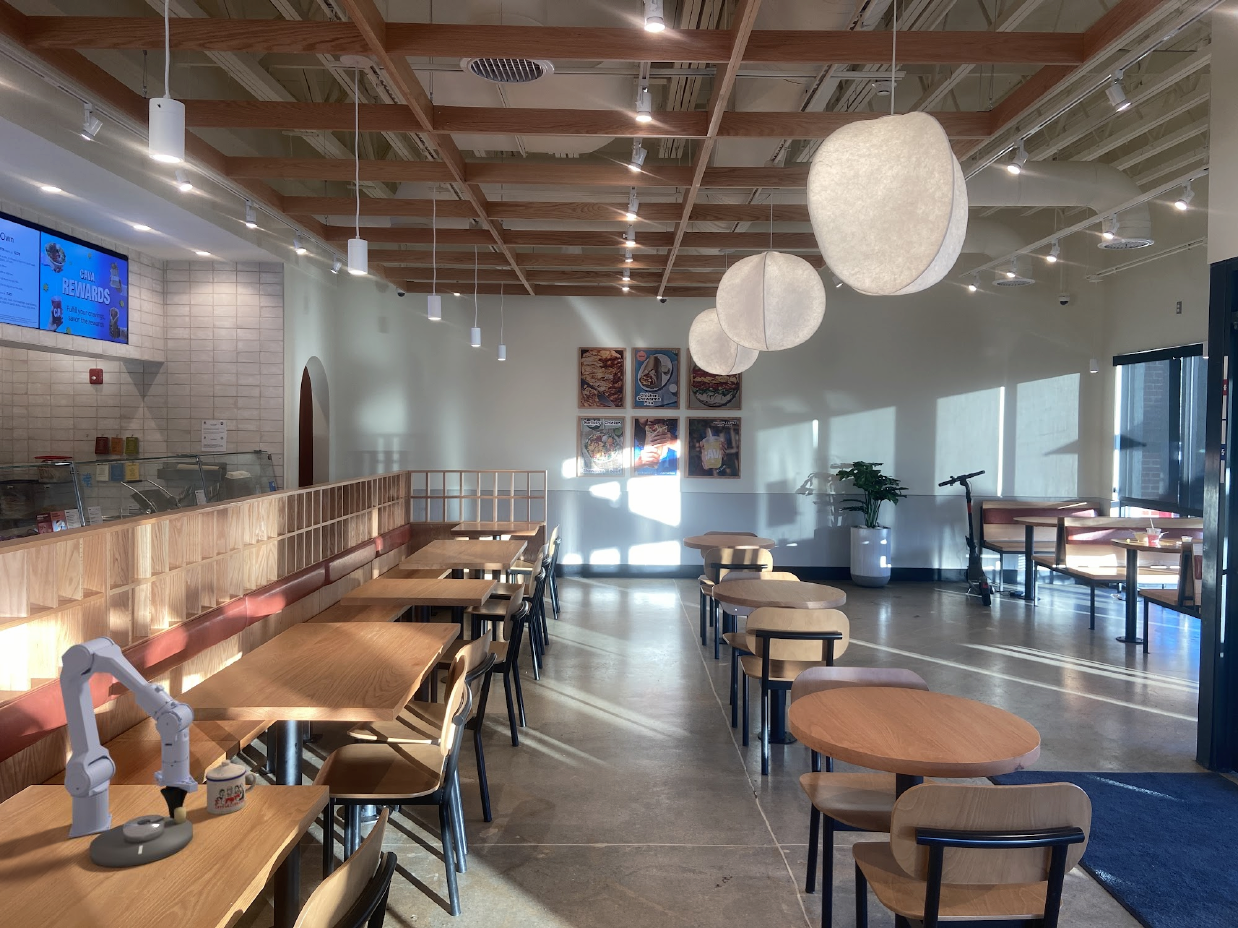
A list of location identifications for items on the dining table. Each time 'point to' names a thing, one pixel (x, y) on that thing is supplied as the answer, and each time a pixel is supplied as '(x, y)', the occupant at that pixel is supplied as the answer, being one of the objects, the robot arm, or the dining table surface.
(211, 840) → the dining table surface
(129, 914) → the dining table surface
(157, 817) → the cover
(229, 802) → the teacup with lid
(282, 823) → the dining table surface
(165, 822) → the turntable
